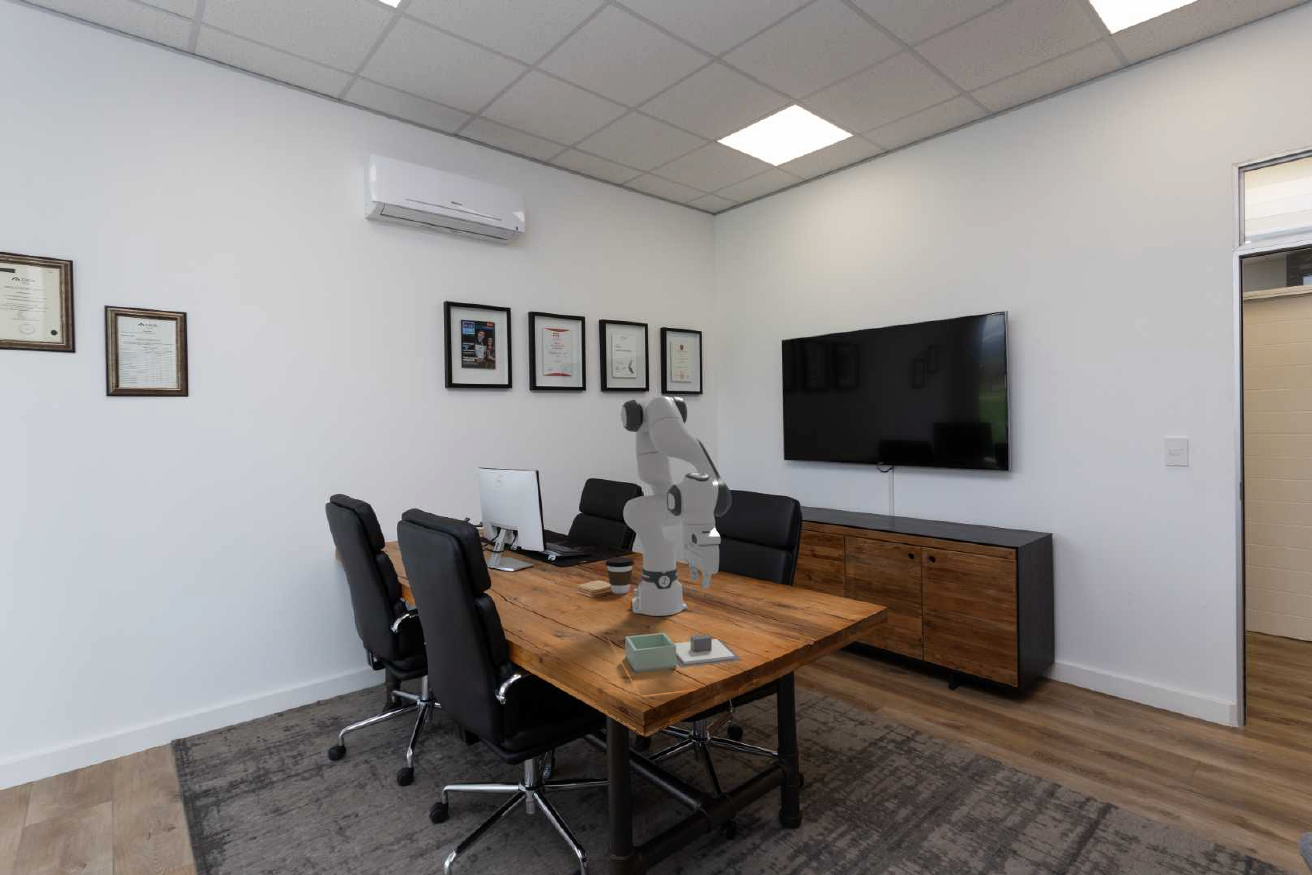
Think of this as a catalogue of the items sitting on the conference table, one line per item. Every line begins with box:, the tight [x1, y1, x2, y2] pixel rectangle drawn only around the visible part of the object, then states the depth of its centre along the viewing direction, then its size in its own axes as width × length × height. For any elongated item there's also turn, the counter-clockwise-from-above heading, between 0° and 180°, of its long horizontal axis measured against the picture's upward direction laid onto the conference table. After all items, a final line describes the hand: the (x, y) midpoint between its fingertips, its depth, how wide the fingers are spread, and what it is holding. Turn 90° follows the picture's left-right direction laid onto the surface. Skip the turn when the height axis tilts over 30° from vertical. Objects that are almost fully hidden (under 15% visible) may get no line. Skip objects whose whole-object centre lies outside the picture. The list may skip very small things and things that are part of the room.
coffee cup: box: [604, 556, 635, 595], centre depth 243 cm, size 11×11×12 cm
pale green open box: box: [624, 632, 678, 674], centre depth 170 cm, size 11×11×6 cm
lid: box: [673, 633, 735, 665], centre depth 177 cm, size 14×14×4 cm
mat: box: [676, 639, 743, 668], centre depth 177 cm, size 17×17×1 cm
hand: (700, 583), depth 176 cm, fingers open, 8 cm apart
